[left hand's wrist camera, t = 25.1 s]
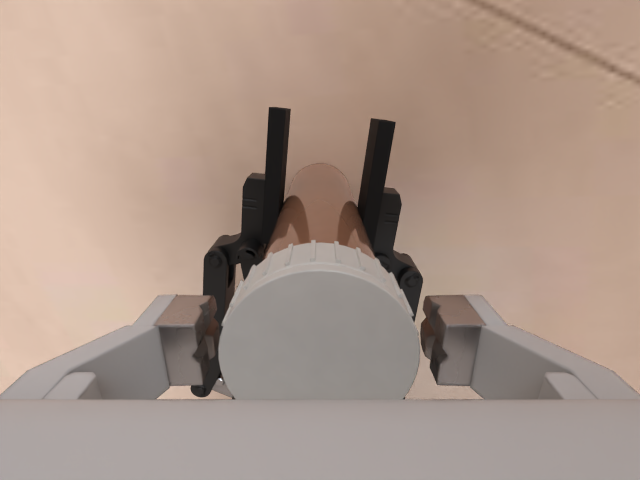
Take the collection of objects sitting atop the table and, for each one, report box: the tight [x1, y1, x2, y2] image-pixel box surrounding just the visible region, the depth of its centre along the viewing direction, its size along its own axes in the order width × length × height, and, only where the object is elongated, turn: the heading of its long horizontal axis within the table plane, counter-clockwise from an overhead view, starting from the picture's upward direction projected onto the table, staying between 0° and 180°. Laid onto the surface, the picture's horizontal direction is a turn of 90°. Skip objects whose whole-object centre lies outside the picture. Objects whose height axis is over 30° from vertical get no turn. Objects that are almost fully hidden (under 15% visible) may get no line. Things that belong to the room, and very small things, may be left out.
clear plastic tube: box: [261, 164, 376, 262], centre depth 17 cm, size 4×4×17 cm
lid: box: [218, 240, 420, 399], centre depth 9 cm, size 5×5×2 cm
